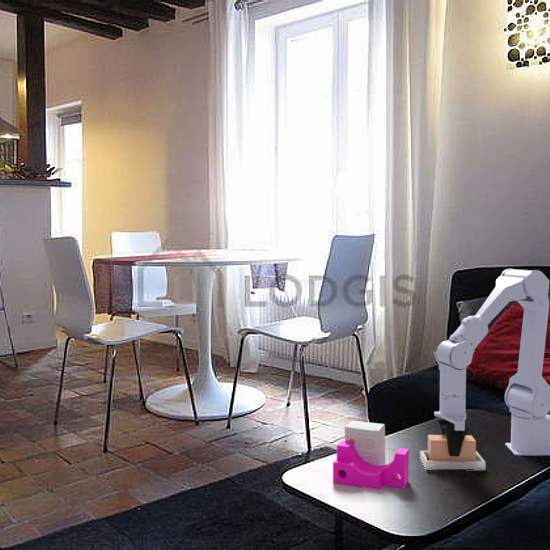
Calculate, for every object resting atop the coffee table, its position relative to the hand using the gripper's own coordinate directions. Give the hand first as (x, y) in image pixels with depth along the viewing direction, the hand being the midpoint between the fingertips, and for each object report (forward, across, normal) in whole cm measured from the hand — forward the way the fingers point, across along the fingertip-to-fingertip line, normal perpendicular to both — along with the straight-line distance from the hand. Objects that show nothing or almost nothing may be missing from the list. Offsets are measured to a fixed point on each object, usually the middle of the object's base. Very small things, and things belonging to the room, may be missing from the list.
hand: (451, 452), depth 147 cm
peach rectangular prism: (+2, 0, 0) cm, 2 cm away
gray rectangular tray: (+3, 0, 0) cm, 3 cm away
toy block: (+4, +10, -20) cm, 22 cm away
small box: (+4, +3, -20) cm, 21 cm away
